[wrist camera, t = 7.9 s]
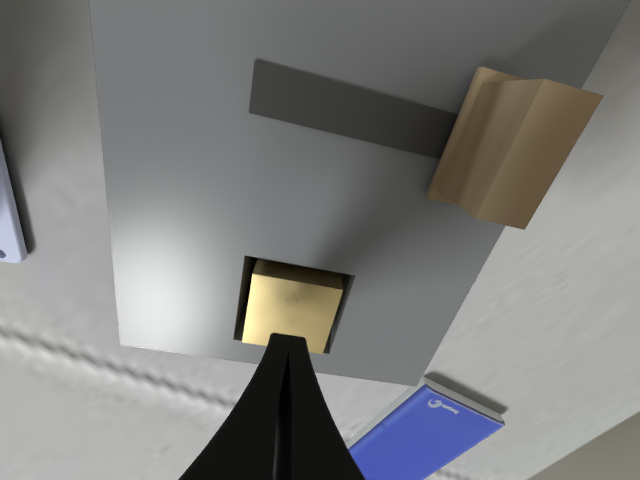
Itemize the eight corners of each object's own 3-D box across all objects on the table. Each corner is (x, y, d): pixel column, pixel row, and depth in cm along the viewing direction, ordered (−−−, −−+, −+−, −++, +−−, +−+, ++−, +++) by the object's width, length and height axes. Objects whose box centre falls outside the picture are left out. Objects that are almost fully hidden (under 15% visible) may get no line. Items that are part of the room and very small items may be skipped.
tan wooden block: (425, 196, 11) (462, 229, 9) (477, 67, 9) (546, 56, 7) (472, 207, 12) (524, 243, 9) (532, 83, 10) (621, 79, 7)
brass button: (252, 302, 17) (241, 342, 14) (263, 242, 15) (252, 273, 13) (320, 314, 17) (322, 354, 15) (338, 256, 16) (343, 290, 13)
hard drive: (427, 389, 20) (325, 474, 24) (507, 427, 22) (400, 499, 27) (420, 369, 21) (324, 453, 26) (496, 407, 24) (396, 478, 28)
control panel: (149, 306, 18) (119, 346, 15) (122, -625, 6) (-24, -1177, 4) (402, 346, 19) (417, 388, 17) (718, -316, 8) (920, -519, 6)
